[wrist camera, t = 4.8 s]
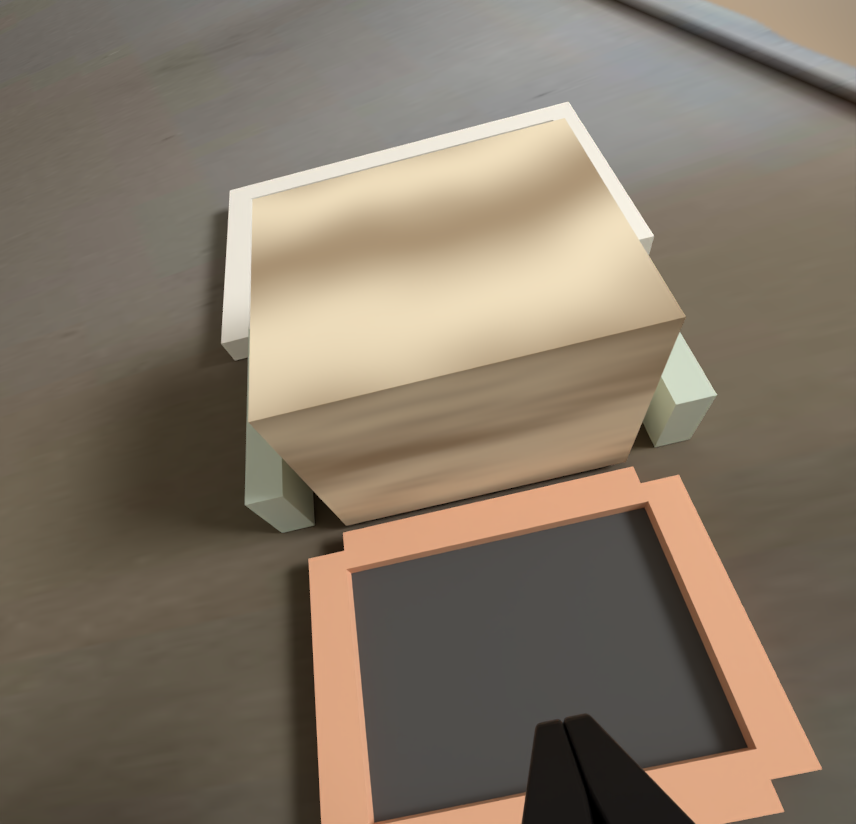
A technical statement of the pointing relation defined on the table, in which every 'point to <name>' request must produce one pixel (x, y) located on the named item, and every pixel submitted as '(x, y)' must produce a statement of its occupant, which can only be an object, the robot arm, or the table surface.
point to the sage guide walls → (293, 499)
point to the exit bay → (241, 198)
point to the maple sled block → (453, 325)
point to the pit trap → (540, 656)
